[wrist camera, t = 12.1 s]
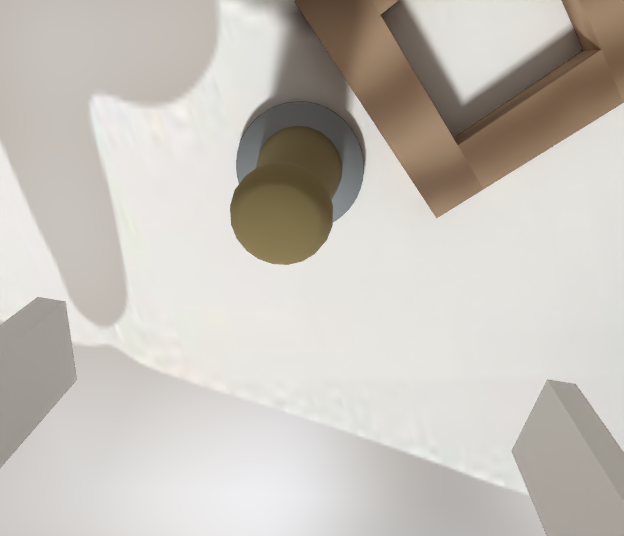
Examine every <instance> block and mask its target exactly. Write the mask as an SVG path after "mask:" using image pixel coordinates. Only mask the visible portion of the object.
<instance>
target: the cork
mask: <svg viewBox="0 0 624 536" xmlns="http://www.w3.org/2000/svg"><path fill="white" fill-rule="evenodd" d="M341 179H342V162H341V159H340V155H339V152H338V150H337V149H336V147H335V145H334V144H333V142H332V141H331V140H330V139H329V138H328V137H326V136H325V135H324V134H323V133H322V132H320V131H318V130H315V129H312V128H310V127H307V126H291V127H288V128H285V129H281V130H279V131H278V132H276V133H275V134H274V135H272V136H271V137H269V138H268V140H267V141H266V143H265V144H264V146H263V147H262V148H261V151H260V154H259V158H258V161H257V165H256V169H254V170H253V171H251V172H250V173H249V174H247V175H246V176H245V177H244V178H243V179H242V181H241V182H240V184H239V185H238V187H237V188H236V189H235V191H234V194H233V198H232V202H231V205H230V212H231V225H232V228H233V230H234V233H235V235H236V238H237V239H238V241H239V242H240V243H241V244H242V246H243V247H244V248H245V249H246V250H247V251H248V252H249V253H251V254H252V255H254V256H255V257H257V258H258V259H260V260H263V261H266V262H269V263H272V264H284V265H289V264H293V263H297V262H301V261H303V260H305V259H307V258H308V257H310V256H312V255H313V254H315V253H316V252H317V251H318V249H319V248H320V247H321V246H322V245H323V244H324V242H325V241H326V240H327V238H328V235H329V233H330V231H331V228H332V223H333V204H332V201H331V200H332V199H333V197H334V195H335V193H336V192H337V189H338V187H339V184H340V182H341Z"/></svg>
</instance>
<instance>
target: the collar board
mask: <svg viewBox="0 0 624 536" xmlns="http://www.w3.org/2000/svg"><path fill="white" fill-rule="evenodd" d="M397 1H399V0H295V1H294V2H295V3H296V5H297V6H298V8H299V9H300V11H301V12H302V14H303V15H304V17H305V18H306V20H307V21H308V23H309V24H310V26H311V27H312V29H313V30H314V32H315V34H316V35H317V37H318V38H319V40H320V41H321V43H322V44H323V46H324V47H325V49H326V50H327V52H328V53H329V55H330V56H331V58H332V59H333V61H334V62H335V64H336V66H337V67H338V69H339V70H340V72H341V73H342V75H343V76H344V78H345V79H346V81H347V82H348V84H349V85H350V87H351V88H352V90H353V91H354V93H355V95H356V96H357V98H358V99H359V101H360V102H361V104H362V105H363V107H364V108H365V110H366V111H367V113H368V114H369V116H370V117H371V119H372V120H373V122H374V123H375V125H376V127H377V128H378V130H379V131H380V133H381V134H382V136H383V137H384V139H385V140H386V142H387V143H388V145H389V146H390V148H391V149H392V151H393V152H394V154H395V156H396V157H397V159H398V160H399V162H400V163H401V165H402V166H403V168H404V169H405V171H406V172H407V174H408V175H409V177H410V178H411V180H412V181H413V183H414V184H415V186H416V188H417V189H418V191H419V192H420V194H421V195H422V197H423V198H424V200H425V201H426V203H427V204H428V206H429V207H430V209H431V210H432V212H433V213H434V215H435V216H436V218H438V217H439V216H441V215H443V214H444V213H446V212H448V211H449V210H451V209H452V208H454V207H456V206H457V205H459V204H460V203H462V202H464V201H465V200H467V199H469V198H470V197H472V196H473V195H475V194H477V193H478V192H480V191H481V190H483V189H485V188H486V187H488V186H490V185H491V184H493V183H494V182H496V181H498V180H499V179H501V178H502V177H504V176H506V175H507V174H509V173H511V172H512V171H514V170H515V169H517V168H519V167H520V166H522V165H523V164H525V163H527V162H528V161H530V160H532V159H533V158H535V157H536V156H538V155H540V154H541V153H543V152H544V151H546V150H548V149H549V148H551V147H553V146H554V145H556V144H557V143H559V142H561V141H562V140H564V139H565V138H567V137H569V136H570V135H572V134H574V133H575V132H577V131H578V130H580V129H582V128H583V127H585V126H586V125H588V124H590V123H591V122H593V121H595V120H596V119H598V118H599V117H601V116H603V115H604V114H606V113H607V112H609V111H611V110H612V109H614V108H616V107H617V106H619V105H620V104H622V103H624V0H562V2H563V5H564V7H565V9H566V11H567V14H568V16H569V18H570V21H571V23H572V25H573V27H574V30H575V32H576V34H577V37H578V39H579V41H580V43H581V46H582V48H583V51H582V52H580V53H579V54H577V55H576V56H574V57H573V58H571V59H570V60H568V61H567V62H565V63H564V64H562V65H561V66H559V67H558V68H556V69H555V70H554V71H552V72H551V73H549V74H548V75H546V76H545V77H543V78H542V79H540V80H539V81H537V82H536V83H534V84H533V85H531V86H530V87H528V88H527V89H525V90H524V91H523V92H521V93H520V94H518V95H517V96H515V97H514V98H512V99H511V100H509V101H508V102H506V103H505V104H503V105H502V106H500V107H499V108H497V109H496V110H494V111H493V112H492V113H490V114H489V115H487V116H486V117H484V118H483V119H481V120H480V121H478V122H477V123H475V124H474V125H472V126H471V127H469V128H468V129H466V130H465V131H463V132H462V133H461V134H459V135H458V136H456V137H455V138H453V137H452V135H451V133H450V132H449V130H448V128H447V126H446V125H445V123H444V121H443V120H442V118H441V116H440V115H439V113H438V111H437V110H436V108H435V106H434V104H433V103H432V101H431V99H430V98H429V96H428V94H427V93H426V91H425V89H424V88H423V86H422V84H421V83H420V81H419V79H418V77H417V76H416V74H415V72H414V71H413V69H412V67H411V66H410V64H409V62H408V61H407V59H406V57H405V56H404V54H403V52H402V50H401V49H400V47H399V45H398V44H397V42H396V40H395V39H394V37H393V35H392V34H391V32H390V30H389V29H388V27H387V25H386V23H385V22H384V20H383V18H382V17H381V15H382V14H383V13H384V12H385V11H387V10H388V9H389V8H390V7H391V6H393V5H394V4H395V3H396V2H397Z"/></svg>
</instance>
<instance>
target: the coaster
mask: <svg viewBox="0 0 624 536" xmlns="http://www.w3.org/2000/svg"><path fill="white" fill-rule="evenodd" d="M291 126H307V127H310V128H312V129H315V130H318V131H320V132H322V133H323V134H324V135H325V136H326V137H328V138H329V139H330V140H331V141H332V142H333V144H334V145H335V147H336V149H337V150H338V152H339V155H340V159H341V162H342V179H341V182H340V184H339V187H338V189H337V192H336V193H335V195H334V197H333V199H332V200H331V201H332V204H333V222H334V221H336V220H337V219H339V218H340V217H341V216H343V215H344V214H345V213H346V212H347V211H348V210H349V208H350V207H351V206H352V204H353V203H354V201H355V199H356V198H357V196H358V193H359V191H360V189H361V185H362V181H363V174H364V163H363V156H362V152H361V148H360V145H359V142H358V140H357V138H356V136H355V134H354V132H353V131H352V129H351V128H350V127H349V126H348V124H347V123H346V122H345V121H344V120H343V119H342V118H341V117H340V116H338V115H337V114H336V113H334V112H333V111H331V110H329V109H327V108H325V107H323V106H320V105H317V104H313V103H309V102H290V103H285V104H281V105H278V106H275V107H273V108H271V109H269V110H267V111H266V112H264V113H263V114H262V115H260V116H259V117H258V118H257V119H256V120H255V121H254V122H253V123H252V124H251V125H250V126H249V128H248V129H247V130H246V132H245V134H244V135H243V137H242V140H241V142H240V145H239V148H238V152H237V160H236V170H237V178H238V181H239V184H240V182H241V181H242V179H243V178H244V177H245V176H246V175H247V174H249V173H250V172H251V171H253V170H254V169H256V165H257V161H258V158H259V154H260V151H261V148H262V147H263V146H264V144H265V143H266V141H267V140H268V138H269V137H271V136H272V135H274V134H275V133H276V132H278V131H279V130H281V129H285V128H288V127H291Z"/></svg>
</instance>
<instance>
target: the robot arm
mask: <svg viewBox="0 0 624 536" xmlns="http://www.w3.org/2000/svg"><path fill="white" fill-rule="evenodd" d="M76 380H77V376H76V369H75V362H74V356H73V349H72V342H71V335H70V329H69V322H68V315H67V308H66V302H65V301H59V300H53V299H47V298H41V297H37V298H36V299H35V300H33V301H32V302H31V303H29V304H28V305H27V306H25V307H24V308H23V309H21V310H20V311H19V312H17V313H16V314H15V315H13V316H12V317H10V318H9V319H8V320H6V321H5V322H4V323H2V324H1V325H0V468H1V467H2V466H3V464H4V463H5V462H6V461H7V460H8V459H9V458H10V456H11V455H12V454H13V453H14V452H15V451H16V450H17V448H18V447H19V446H20V445H21V444H22V443H23V441H24V440H25V439H26V438H27V437H28V436H29V435H30V433H31V432H32V431H33V430H34V429H35V428H36V426H37V425H38V424H39V423H40V422H41V421H42V420H43V418H44V417H45V416H46V415H47V414H48V413H49V411H50V410H51V409H52V408H53V407H54V406H55V404H56V403H57V402H58V401H59V400H60V399H61V398H62V396H63V395H64V394H65V393H66V392H67V391H68V389H69V388H70V387H71V386H72V385H73V384H74V383H75V381H76ZM512 453H513V456H514V458H515V461H516V463H517V465H518V468H519V470H520V473H521V475H522V478H523V480H524V482H525V485H526V487H527V490H528V492H529V494H530V497H531V499H532V502H533V504H534V506H535V509H536V511H537V514H538V516H539V518H540V521H541V523H542V525H543V528H544V531H545V533H546V535H547V536H624V452H623V451H622V449H621V448H620V446H619V445H618V443H617V442H616V441H615V439H614V438H613V436H612V435H611V433H610V432H609V431H608V429H607V428H606V426H605V425H604V423H603V422H602V421H601V419H600V418H599V416H598V415H597V413H596V412H595V411H594V409H593V408H592V406H591V405H590V404H589V402H588V401H587V399H586V398H585V396H584V395H583V394H582V392H581V391H580V389H579V388H578V386H577V385H576V384H572V383H566V382H560V381H553V380H547V381H546V383H545V385H544V387H543V389H542V391H541V393H540V395H539V397H538V399H537V401H536V403H535V405H534V407H533V409H532V411H531V413H530V415H529V417H528V419H527V421H526V423H525V425H524V427H523V429H522V431H521V433H520V435H519V437H518V439H517V441H516V443H515V445H514V447H513V449H512Z"/></svg>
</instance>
